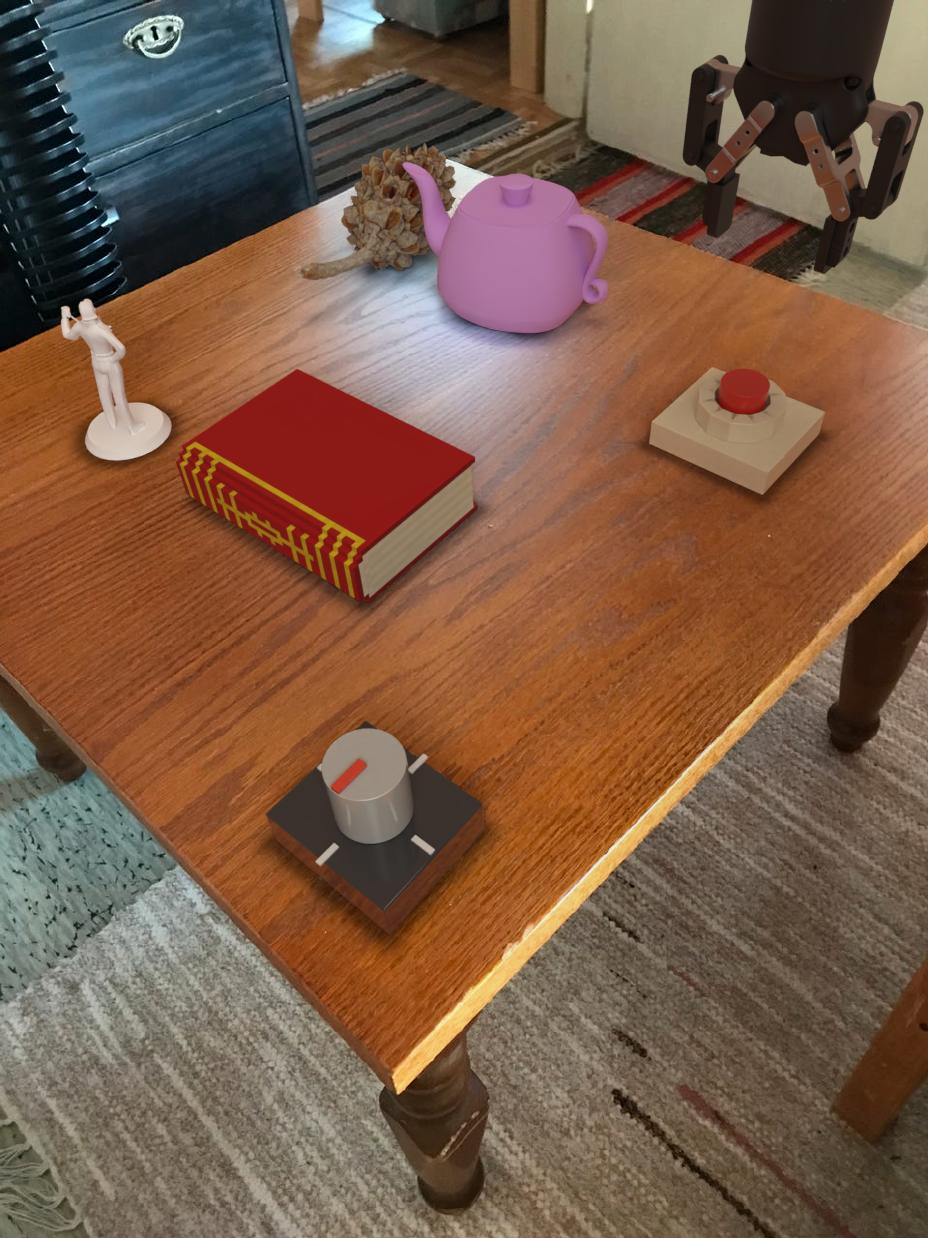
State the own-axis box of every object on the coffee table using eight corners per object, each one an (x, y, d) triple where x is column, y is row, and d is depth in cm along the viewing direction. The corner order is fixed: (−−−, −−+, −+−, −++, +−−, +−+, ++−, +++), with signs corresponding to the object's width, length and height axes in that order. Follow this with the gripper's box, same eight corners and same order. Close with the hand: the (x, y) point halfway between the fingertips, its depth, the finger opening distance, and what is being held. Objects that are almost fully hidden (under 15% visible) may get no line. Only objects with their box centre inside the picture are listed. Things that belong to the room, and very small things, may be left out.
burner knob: (371, 760, 56) (361, 710, 52) (430, 801, 54) (423, 753, 50) (317, 814, 54) (302, 766, 50) (376, 859, 52) (365, 813, 48)
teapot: (631, 288, 93) (643, 163, 84) (577, 364, 85) (584, 235, 76) (443, 247, 99) (436, 127, 90) (378, 315, 92) (362, 190, 83)
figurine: (188, 417, 83) (147, 287, 74) (136, 468, 78) (86, 338, 69) (120, 398, 85) (72, 270, 76) (66, 447, 81) (8, 318, 72)
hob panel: (488, 826, 56) (487, 798, 54) (386, 940, 52) (379, 914, 50) (374, 744, 60) (368, 714, 58) (271, 843, 56) (260, 816, 54)
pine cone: (397, 213, 104) (388, 116, 97) (478, 231, 101) (474, 131, 94) (278, 319, 92) (256, 216, 84) (365, 343, 89) (350, 238, 81)
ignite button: (774, 398, 75) (779, 379, 74) (750, 422, 73) (755, 402, 72) (732, 381, 77) (736, 362, 75) (708, 404, 75) (711, 385, 74)
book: (189, 502, 76) (172, 452, 72) (307, 419, 82) (297, 368, 78) (361, 610, 67) (351, 559, 64) (477, 508, 74) (475, 456, 70)
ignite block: (819, 434, 78) (831, 392, 75) (762, 495, 73) (772, 453, 70) (708, 388, 82) (715, 347, 79) (648, 443, 78) (653, 402, 75)
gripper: (677, -38, 55) (648, 241, 67) (929, 10, 48) (845, 309, 61) (745, -73, 58) (706, 198, 71) (988, -33, 52) (897, 258, 64)
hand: (770, 249), depth 66 cm, fingers open, 7 cm apart
